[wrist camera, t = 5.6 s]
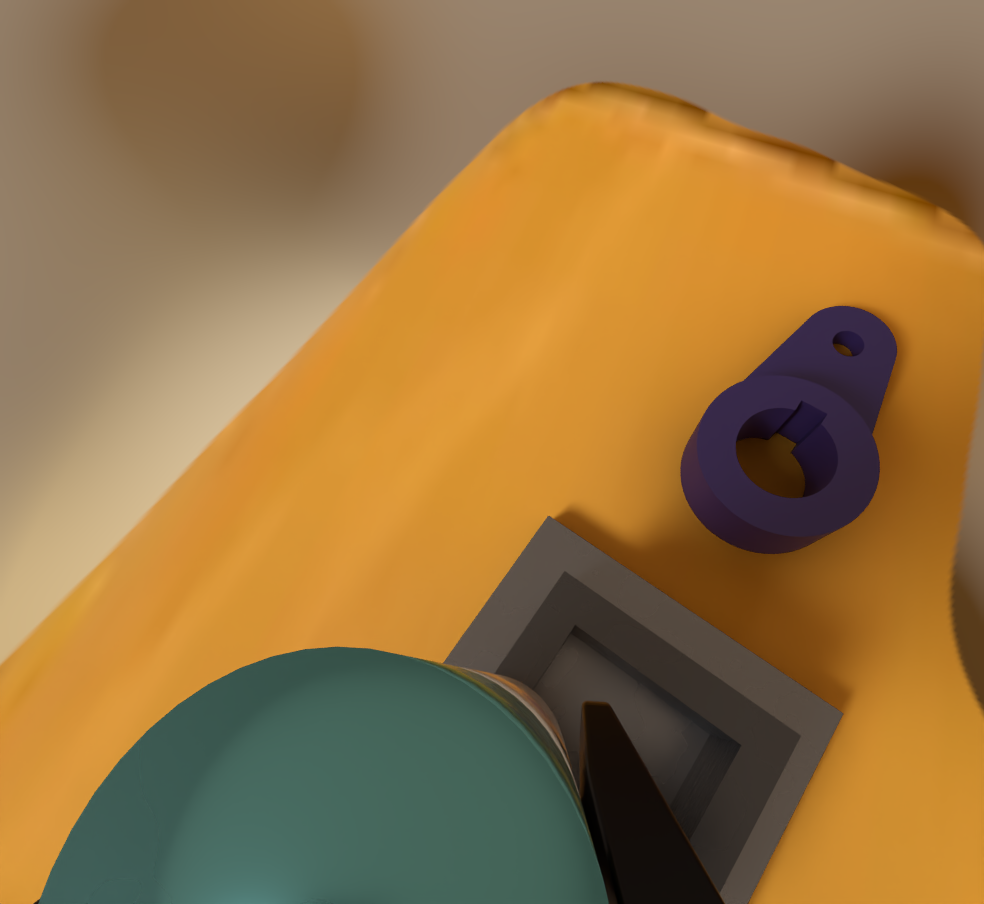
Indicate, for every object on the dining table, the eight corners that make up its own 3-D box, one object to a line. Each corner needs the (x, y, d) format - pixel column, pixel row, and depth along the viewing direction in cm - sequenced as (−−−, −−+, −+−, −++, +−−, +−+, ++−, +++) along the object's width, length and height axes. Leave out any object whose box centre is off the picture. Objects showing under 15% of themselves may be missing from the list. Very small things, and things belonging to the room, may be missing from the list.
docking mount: (830, 711, 21) (902, 720, 16) (652, 1060, 18) (684, 1177, 13) (548, 522, 24) (548, 488, 20) (360, 786, 21) (313, 812, 17)
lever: (792, 587, 22) (829, 573, 20) (650, 496, 24) (664, 471, 21) (924, 363, 25) (973, 321, 22) (788, 296, 27) (817, 250, 24)
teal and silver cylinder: (599, 774, 14) (767, 1068, 3) (471, 889, 14) (163, 1718, 3) (500, 642, 16) (391, 543, 5) (381, 740, 15) (-69, 892, 4)
